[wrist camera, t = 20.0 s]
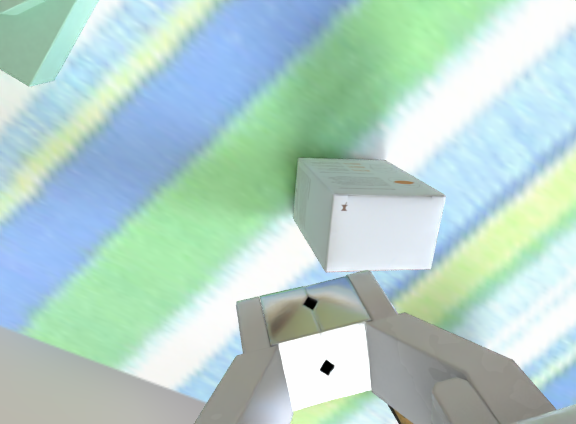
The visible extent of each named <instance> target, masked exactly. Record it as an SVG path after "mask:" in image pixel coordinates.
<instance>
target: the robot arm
mask: <svg viewBox="0 0 576 424" xmlns="http://www.w3.org/2000/svg"><path fill="white" fill-rule="evenodd" d="M260 300H261V302H260ZM261 305H262V306H261ZM236 308H237V315H238V322H239V329H240V336H241V343H242V350H243V354H241V355H237V356H236V357H235V359H234V360H233V362H232V363H231V365H230V367H229V368H228V370H227V371H226V373H225V375H224V376H223V378H222V379H221V381H220V383H219V384H218V386H217V387H216V389H215V391H214V392H213V394H212V396H211V397H210V399H209V400H208V402H207V404H206V405H205V407H204V408H203V410H202V412H201V413H200V415H199V417H198V418H197V420H196V421H195V423H194V424H290V422H291V419H292V416H293V411H296V410H299V409H302V408H306V407H309V406H312V405H316V404H319V403H322V402H325V401H329V400H332V399H336V398H340V397H345V396H349V395H353V394H357V393H361V392H365V391H369V390H372V392H373V393H374V394H375V395H377V396H378V397H379V398H381V399H382V400H383V401H384V402H386V403H387V404H388V405H390V406H391V407H392V408H394V409H395V410H396V411H398V412H399V413H400V414H401V415H403V416H404V417H405V418H407V419H408V420H409V421H411V422H412V423H413V424H576V405H572V406H569V407H565V408H562V409H558V410H556V409H555V407H554V406H553V405H552V404H551V403H550V402H549V401H548V399H547V398H546V397H545V396H544V395H543V394H542V393H541V391H540V390H539V389H538V388H537V387H536V386H535V385H534V383H533V382H532V381H531V380H530V379H529V378H528V377H527V375H526V374H525V373H524V372H523V371H522V370H521V369H520V367H519V366H518V365H517V364H516V363H515V362H514V361H513V360H512V359H510V358H507V357H505V356H503V355H500V354H498V353H496V352H494V351H491V350H489V349H487V348H485V347H482V346H480V345H478V344H475V343H473V342H471V341H469V340H466V339H464V338H462V337H459V336H457V335H455V334H453V333H450V332H448V331H446V330H444V329H441V328H439V327H437V326H434V325H432V324H430V323H428V322H425V321H423V320H421V319H419V318H416V317H414V316H412V315H409V314H407V313H401V314H398V313H397V311H396V310H395V308H394V307H393V305H392V303H391V302H390V300H389V299H388V297H387V296H386V294H385V293H384V291H383V290H382V288H381V287H380V285H379V284H378V282H377V281H376V279H375V277H374V276H373V274H372V273H371V271H369V270H364V271H360V272H356V273H353V274H349V275H346V276H345V277H340V278H336V279H332V280H328V281H324V282H320V283H316V284H312V285H308V286H303V287H298V288H294V289H289V290H285V291H280V292H276V293H271V294H267V295H262V296H260V298H259V297H254V298H250V299H245V300H241V301H237V303H236ZM262 309H263V311H262ZM263 314H264V315H263ZM264 318H265V319H264ZM266 327H267V328H266Z"/></svg>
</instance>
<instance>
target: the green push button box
mask: <svg viewBox="0 0 576 424" xmlns="http://www.w3.org/2000/svg"><path fill="white" fill-rule="evenodd" d="M98 1H99V0H0V70H2V71H4V72H5V73H7V74H9V75H11V76H12V77H14V78H16V79H17V80H19V81H21V82H22V83H24V84H26V85H27V86H34V85H38V84H43V83H47V82H51V81H54V80H55V78H56V76H57V74H58V73H59V71H60V69H61V67H62V65H63V64H64V62H65V60H66V58H67V56H68V55H69V53H70V51H71V49H72V47H73V46H74V44H75V42H76V40H77V38H78V37H79V35H80V33H81V31H82V29H83V28H84V26H85V24H86V22H87V20H88V19H89V17H90V15H91V13H92V11H93V10H94V8H95V6H96V4H97V2H98Z"/></svg>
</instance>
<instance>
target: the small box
mask: <svg viewBox="0 0 576 424" xmlns="http://www.w3.org/2000/svg"><path fill="white" fill-rule="evenodd" d="M445 199H446V196H445V195H444V194H443V193H441V192H439V191H438V190H436V189H434V188H432V187H431V186H429V185H427V184H425V183H424V182H422V181H420V180H419V179H417V178H415V177H413V176H412V175H410V174H408V173H406V172H405V171H403V170H401V169H399V168H398V167H396V166H394V165H393V164H391V163H389V162H387V161H386V160H365V159H328V158H298V164H297V176H296V188H295V199H294V212H293V219H294V221H295V222H296V224H297V226H298V227H299V229H300V231H301V232H302V234H303V236H304V237H305V239H306V241H307V242H308V244H309V246H310V247H311V249H312V251H313V252H314V254H315V256H316V257H317V259H318V261H319V262H320V264H321V265H322V267H323V269H324V270H325V272H351V271H364V270H369V271H386V270H421V269H431V265H432V261H433V256H434V252H435V247H436V242H437V237H438V232H439V227H440V222H441V218H442V213H443V208H444V204H445Z"/></svg>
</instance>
